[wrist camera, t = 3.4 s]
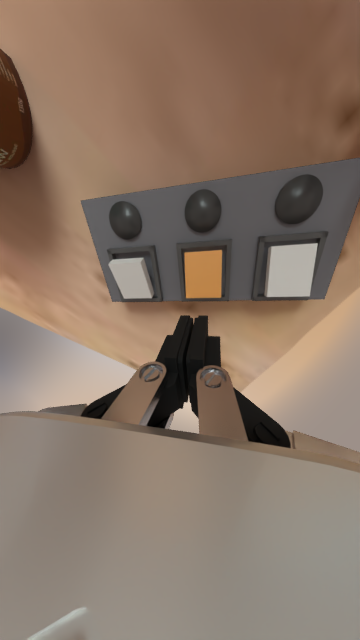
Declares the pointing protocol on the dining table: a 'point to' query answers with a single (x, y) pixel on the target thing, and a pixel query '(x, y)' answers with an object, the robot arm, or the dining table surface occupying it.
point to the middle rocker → (203, 274)
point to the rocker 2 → (290, 270)
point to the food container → (13, 116)
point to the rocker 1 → (132, 277)
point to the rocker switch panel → (228, 228)
